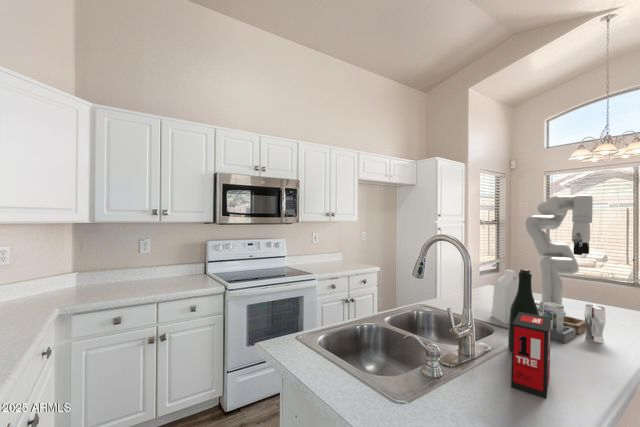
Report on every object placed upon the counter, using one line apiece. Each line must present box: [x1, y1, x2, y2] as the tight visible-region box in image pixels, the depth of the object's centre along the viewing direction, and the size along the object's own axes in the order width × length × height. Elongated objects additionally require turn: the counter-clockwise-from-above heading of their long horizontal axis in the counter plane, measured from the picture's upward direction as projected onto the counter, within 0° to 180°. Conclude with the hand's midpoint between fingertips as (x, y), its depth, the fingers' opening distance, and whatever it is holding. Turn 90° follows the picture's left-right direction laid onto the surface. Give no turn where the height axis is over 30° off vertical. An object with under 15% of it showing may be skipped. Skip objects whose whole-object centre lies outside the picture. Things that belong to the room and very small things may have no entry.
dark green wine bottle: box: [507, 268, 540, 353], centre depth 121 cm, size 10×10×33 cm
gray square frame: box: [550, 326, 576, 345], centre depth 140 cm, size 13×13×4 cm
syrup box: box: [542, 302, 565, 333], centre depth 140 cm, size 6×6×14 cm
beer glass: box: [584, 303, 607, 344], centre depth 136 cm, size 7×7×15 cm
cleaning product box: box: [510, 312, 551, 400], centre depth 99 cm, size 16×9×20 cm, turn 141°
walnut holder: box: [563, 315, 587, 337], centre depth 150 cm, size 13×13×4 cm
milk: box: [491, 269, 519, 325], centre depth 161 cm, size 12×12×26 cm
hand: (581, 254), depth 152 cm, fingers open, 9 cm apart
